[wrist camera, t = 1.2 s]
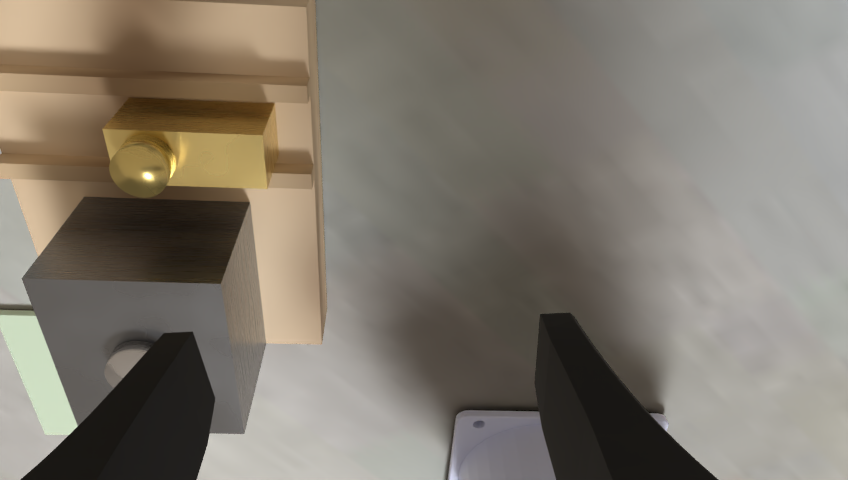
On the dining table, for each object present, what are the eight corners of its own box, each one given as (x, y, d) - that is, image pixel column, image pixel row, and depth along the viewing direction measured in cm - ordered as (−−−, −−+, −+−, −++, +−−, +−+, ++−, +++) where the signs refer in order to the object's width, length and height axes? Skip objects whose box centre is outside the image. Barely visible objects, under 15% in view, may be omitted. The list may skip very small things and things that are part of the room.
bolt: (274, 103, 18) (256, 149, 16) (278, 154, 19) (262, 204, 17) (129, 97, 18) (89, 143, 16) (140, 149, 19) (104, 199, 17)
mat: (184, 314, 25) (182, 319, 25) (208, 431, 29) (207, 436, 29) (-2, 309, 25) (-6, 315, 25) (48, 429, 29) (45, 434, 29)
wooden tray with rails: (314, -14, 19) (303, 14, 16) (327, 308, 25) (320, 356, 23) (-15, -30, 18) (-70, -4, 16) (89, 302, 25) (59, 350, 23)
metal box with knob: (250, 202, 20) (215, 296, 17) (266, 343, 24) (241, 447, 20) (84, 196, 20) (12, 291, 16) (124, 340, 23) (72, 444, 20)
